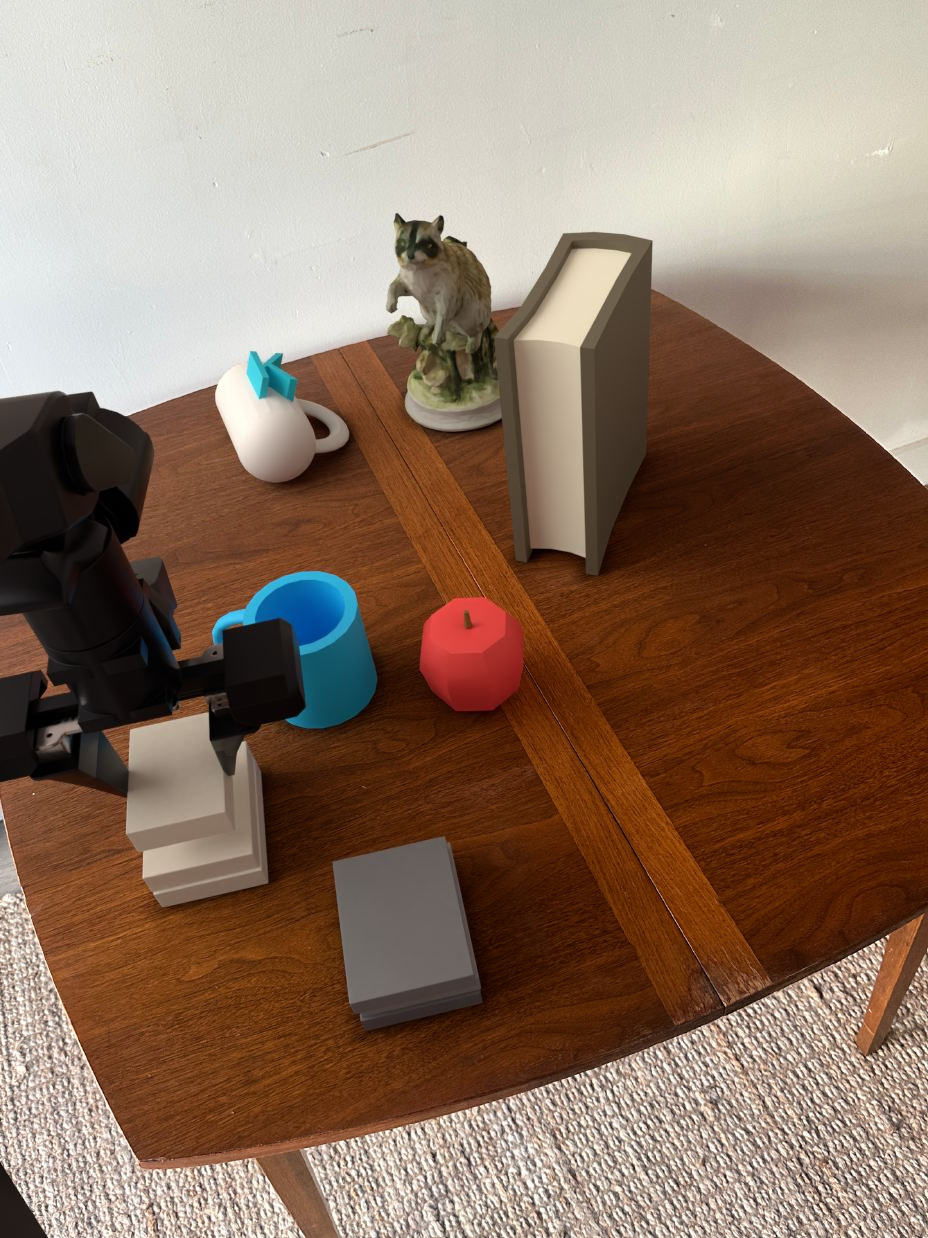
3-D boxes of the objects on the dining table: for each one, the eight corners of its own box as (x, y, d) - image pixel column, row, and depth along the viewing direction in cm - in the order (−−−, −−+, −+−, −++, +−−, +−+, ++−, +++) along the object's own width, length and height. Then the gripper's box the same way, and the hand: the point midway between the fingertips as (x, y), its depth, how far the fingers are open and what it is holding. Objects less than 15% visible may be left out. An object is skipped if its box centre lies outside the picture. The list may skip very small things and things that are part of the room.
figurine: (385, 433, 98) (345, 236, 83) (430, 355, 106) (401, 163, 92) (500, 446, 95) (479, 243, 80) (537, 364, 103) (524, 167, 89)
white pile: (268, 883, 66) (254, 855, 64) (160, 908, 66) (141, 881, 63) (260, 769, 73) (247, 740, 70) (162, 791, 72) (145, 762, 70)
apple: (452, 633, 79) (439, 559, 74) (547, 660, 77) (542, 586, 71) (405, 709, 75) (388, 637, 69) (504, 741, 72) (494, 669, 66)
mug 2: (390, 650, 79) (372, 576, 73) (358, 735, 74) (336, 663, 68) (248, 634, 82) (220, 561, 76) (208, 714, 77) (174, 643, 71)
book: (573, 442, 94) (565, 223, 79) (647, 453, 92) (654, 230, 76) (515, 560, 84) (493, 337, 69) (597, 575, 82) (594, 348, 67)
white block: (235, 830, 62) (225, 811, 61) (138, 853, 62) (125, 834, 60) (230, 729, 68) (221, 708, 66) (141, 748, 67) (129, 729, 66)
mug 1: (254, 405, 86) (222, 339, 94) (239, 495, 91) (210, 425, 99) (383, 412, 91) (342, 348, 99) (362, 496, 97) (325, 429, 105)
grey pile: (485, 1006, 59) (477, 973, 56) (364, 1035, 59) (349, 1004, 56) (455, 865, 66) (447, 829, 62) (345, 891, 65) (331, 855, 62)
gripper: (258, 479, 59) (316, 655, 70) (-66, 546, 58) (45, 714, 69) (270, 614, 51) (333, 787, 63) (-103, 695, 50) (29, 856, 61)
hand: (182, 780), depth 64 cm, fingers closed on white block, 6 cm apart
